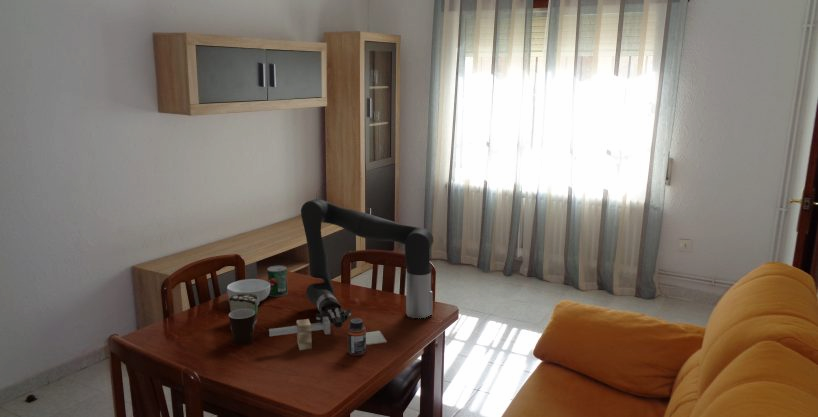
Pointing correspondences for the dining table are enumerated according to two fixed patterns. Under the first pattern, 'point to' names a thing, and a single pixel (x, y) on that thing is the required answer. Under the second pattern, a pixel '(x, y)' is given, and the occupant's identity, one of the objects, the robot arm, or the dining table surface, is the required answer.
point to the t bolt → (294, 329)
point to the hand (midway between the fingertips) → (339, 325)
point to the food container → (244, 302)
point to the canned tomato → (277, 280)
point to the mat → (374, 338)
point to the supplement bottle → (356, 337)
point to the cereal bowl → (250, 287)
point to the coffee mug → (242, 326)
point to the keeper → (304, 334)
